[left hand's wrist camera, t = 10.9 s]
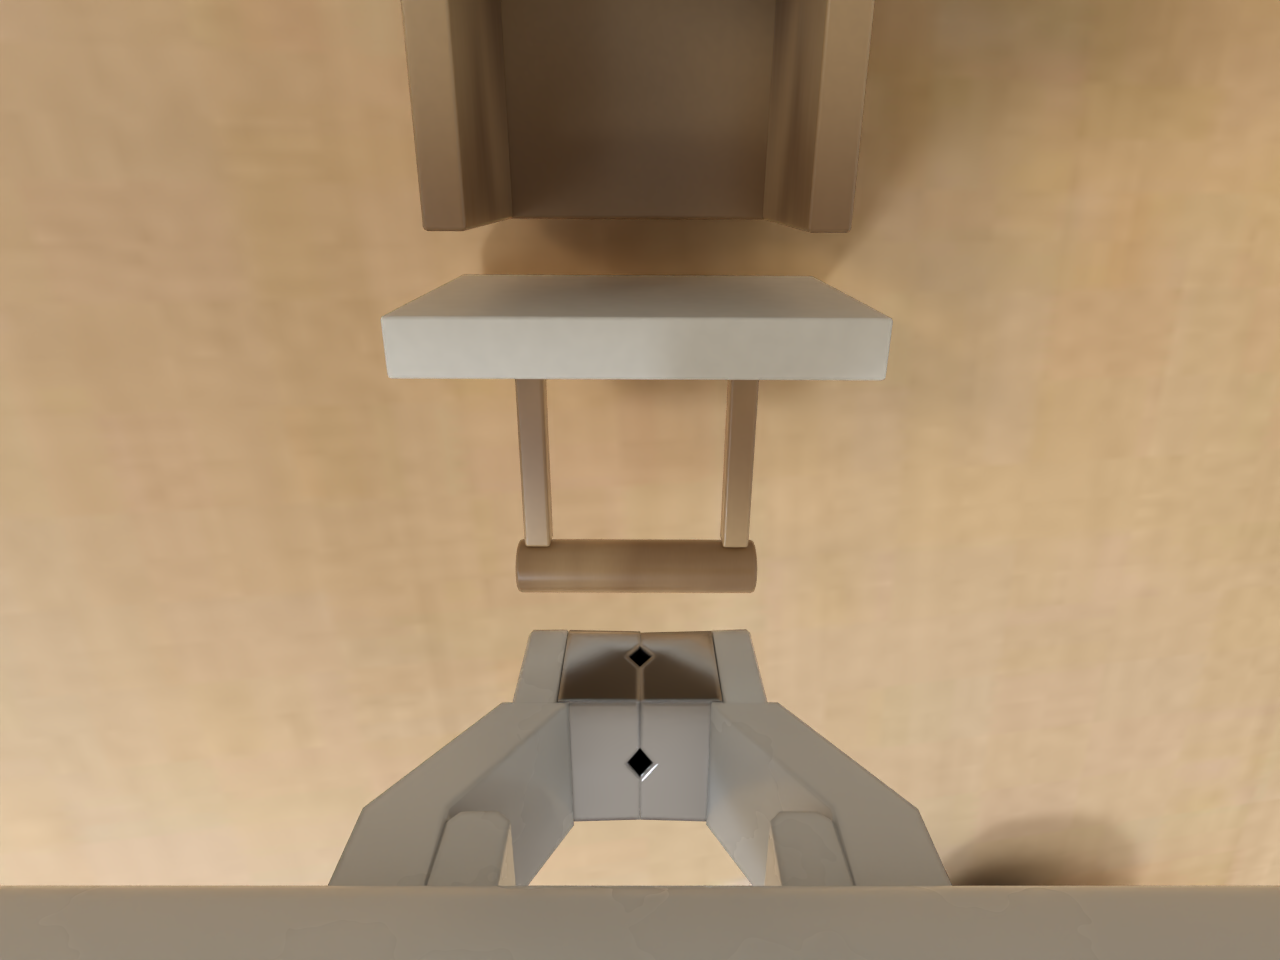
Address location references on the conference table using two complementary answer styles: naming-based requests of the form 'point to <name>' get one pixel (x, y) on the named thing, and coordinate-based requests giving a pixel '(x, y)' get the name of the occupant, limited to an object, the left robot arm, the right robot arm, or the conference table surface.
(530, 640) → the left robot arm
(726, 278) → the drawer
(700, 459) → the conference table surface
